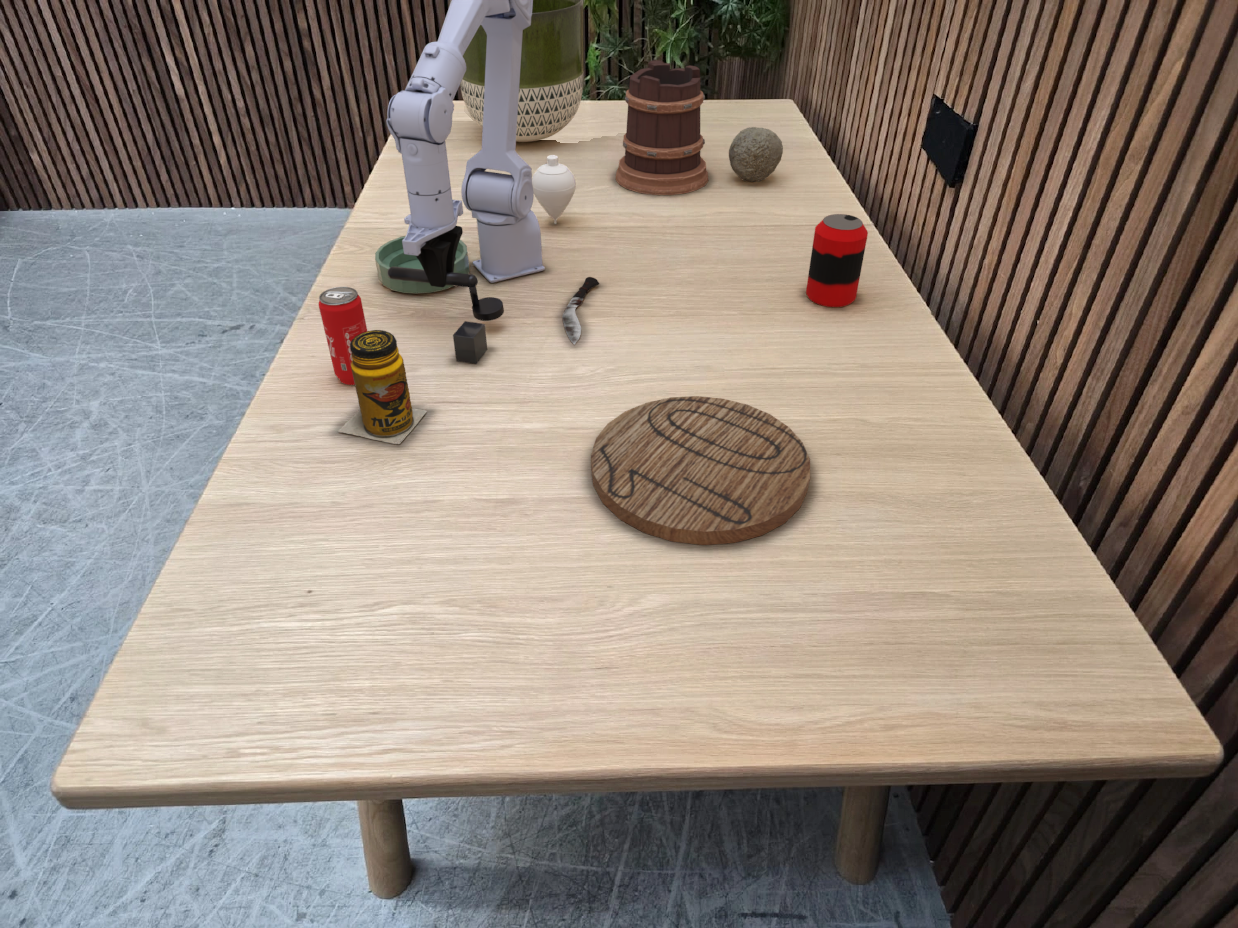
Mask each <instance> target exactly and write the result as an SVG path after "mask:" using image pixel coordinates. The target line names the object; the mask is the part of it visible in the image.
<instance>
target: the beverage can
mask: <svg viewBox="0 0 1238 928" xmlns="http://www.w3.org/2000/svg"><path fill="white" fill-rule="evenodd" d="M318 300H319V301H318V309H319V314H320V317H321V322H322V325H323V331H324V334H325V338H326V342H327V347H328V351H329V355H330V359H331V362H332V363H331V364H332V369H333V373H334V375H335V376H336V378H337V379H338V381H339V382H340V383H341V384H343V385H345V386H355V383H354V378H353V374H352V369H351V363H352V356H351V355H352V352H351V349H350V343H351V341H352V339H354V338H355V336H357V335H359V334H361V333H363V332H367V331H368V326H367V322H366V316H365V312H364V307H363V303H362V297H361V296H360V295H359V292H358V290H356V288H354V287H351V286H335V287H330V288H328V289H326V290H324V291H322V292H321V293H320V294H319V296H318Z"/></svg>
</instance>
